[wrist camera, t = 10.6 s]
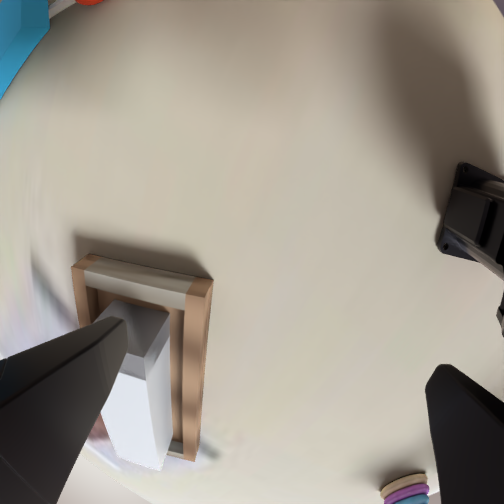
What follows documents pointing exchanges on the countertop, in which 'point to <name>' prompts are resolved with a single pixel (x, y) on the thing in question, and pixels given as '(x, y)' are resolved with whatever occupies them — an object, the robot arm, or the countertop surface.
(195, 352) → the wooden tray
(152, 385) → the white tall block
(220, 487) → the countertop surface
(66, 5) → the lever
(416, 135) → the countertop surface
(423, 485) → the stacking toy
